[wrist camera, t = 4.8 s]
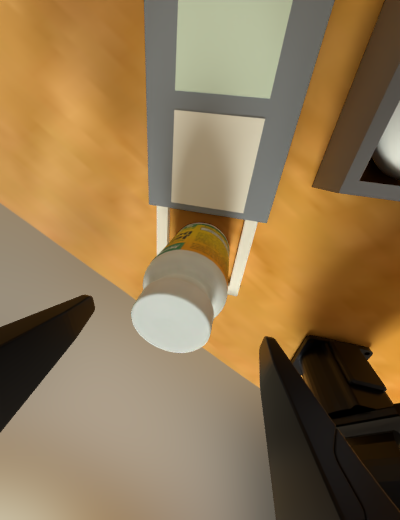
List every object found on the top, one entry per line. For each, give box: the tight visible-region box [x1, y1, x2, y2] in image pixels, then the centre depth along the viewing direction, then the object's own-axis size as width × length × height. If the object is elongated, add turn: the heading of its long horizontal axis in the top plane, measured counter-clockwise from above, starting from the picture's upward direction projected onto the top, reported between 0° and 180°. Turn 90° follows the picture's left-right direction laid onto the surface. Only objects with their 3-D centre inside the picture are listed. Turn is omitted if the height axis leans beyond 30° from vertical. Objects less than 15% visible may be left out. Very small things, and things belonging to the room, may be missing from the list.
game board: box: [144, 0, 335, 296], centre depth 13 cm, size 22×10×1 cm, turn 173°
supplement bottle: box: [131, 223, 229, 353], centre depth 13 cm, size 5×5×10 cm
